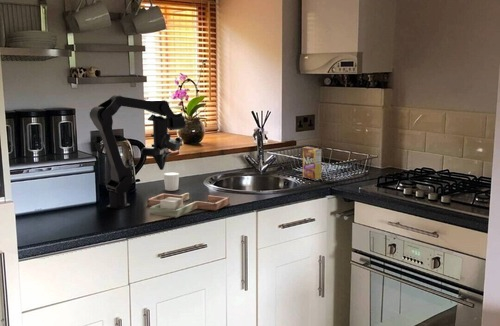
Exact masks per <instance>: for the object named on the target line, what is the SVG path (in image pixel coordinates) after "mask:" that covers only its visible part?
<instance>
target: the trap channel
mask: <svg viewBox="0 0 500 326" xmlns="http://www.w3.org/2000/svg"><path fill="white" fill-rule="evenodd" d="M168 197H174V198H182V199H183V202H186V201H188V200H190V193H189V192H185V193H183V194H180V195H179V194H171V193H164V192H163V193H160V194H158V195H156V196H153V197H150V198H148V199H146V202H147V206H149V215H155V216H162V217H163V216H164V217H169V216H170V217H171V218H179V217H182V216H183V215H186V214H189V212H192V211H194V210H196V209H202V210H209V211H218V210H219V209H222V208H223V207H226V206H228V205H230V197H228V196H227V197H226V196H216V195H211V194H209V195H207V201H201V200H200V201H199V200H196V201H195V200H194V201H193V202H191V203H188V204H186V205H183V207H181V208H179V209H176V210H173V209H165V208H160V200H163V199H165V198H168ZM170 217H169V218H170Z"/></svg>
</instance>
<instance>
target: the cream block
mask: <svg viewBox="0 0 500 326" xmlns="http://www.w3.org/2000/svg"><path fill="white" fill-rule="evenodd" d="M183 206H184V201H183V199H182V198H174V197H168V198H165V199H163V200H160V208H165V209H173V210H176V209H179V208H181V207H183Z"/></svg>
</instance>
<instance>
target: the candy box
mask: <svg viewBox="0 0 500 326" xmlns="http://www.w3.org/2000/svg"><path fill="white" fill-rule="evenodd" d="M303 177H305V178H310V179H319V178H321V179H322V148H316V147H312V146H304V147H302V178H303Z"/></svg>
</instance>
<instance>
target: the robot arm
mask: <svg viewBox="0 0 500 326" xmlns="http://www.w3.org/2000/svg"><path fill="white" fill-rule="evenodd" d="M122 107H124V108H125V107H126V108H133V109H138V110H139V109H140V110H143V111H144V110H145V111H146V112H149V113H152V114H151V115H150V116H149V117H148V118H147V121H151V122H152V133H151V134H150V137H152V138H153V143H151V146H145V147H142V149H141V155H142V156H150V157H151V156H152V157H153V159H154V161H155V163H156V164H157V166H158V168H159V170H161V171H162V170H164V169H165V165H166V162H167V159H168V156H169V155H170V154H172V152H176V151H180V148H181V147H183V139H182V137H180V136H178V137H176V138H175V137H174V138H173V137H171V136H172V135H171V133H170V132H169V131H178V130H179V131H180V130H184V129H185V128H186V120H185V118H184V116H183V112H176V113H174V112H173V110H172V109H171V107H170V104H169V102H168V101H167V100H163V99H138V98H135V97H134V98H133V97H127V96H122V95H118V94H117V95H116V94H113V95H112V96H111V97H110V98H109V99H107V100H105V101H103V102H101V103H100V104H99V105H97V106H94V107H92V108H91V109H90V112H89V118H90V120H91V121H92V123H93V125H94V127H95V128H96V129H97V130H98V131H99V134H100V137H101V140H102V142H103V147H104V148H105V151H106V154H107V157H108V161H109V164H110V172H109V173H110V179H109V180H108V182H107V183H106V184H105V187H106V189H107V191H108V194H109V204H108V205H106V208H110V209H116V210H117V209H118V210H121V209H124V208H127V207H129V206H131V204H130V203H128V195H127V193H129V191H130V187H131V185H132V183H133V182H134V181H133V180H134V178H133V177H134V174H133V173H132V168H131V166H128V165H126V164H125V163H124V161H123V158H122V156H121V153H120V149H119V146H118V144H117V143H118V142H117V139H116V137H115V134H114V131H113V124H114V120H113V116H115V114H117V113H118V111H119V110H120V108H122ZM168 130H169V131H168Z"/></svg>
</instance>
